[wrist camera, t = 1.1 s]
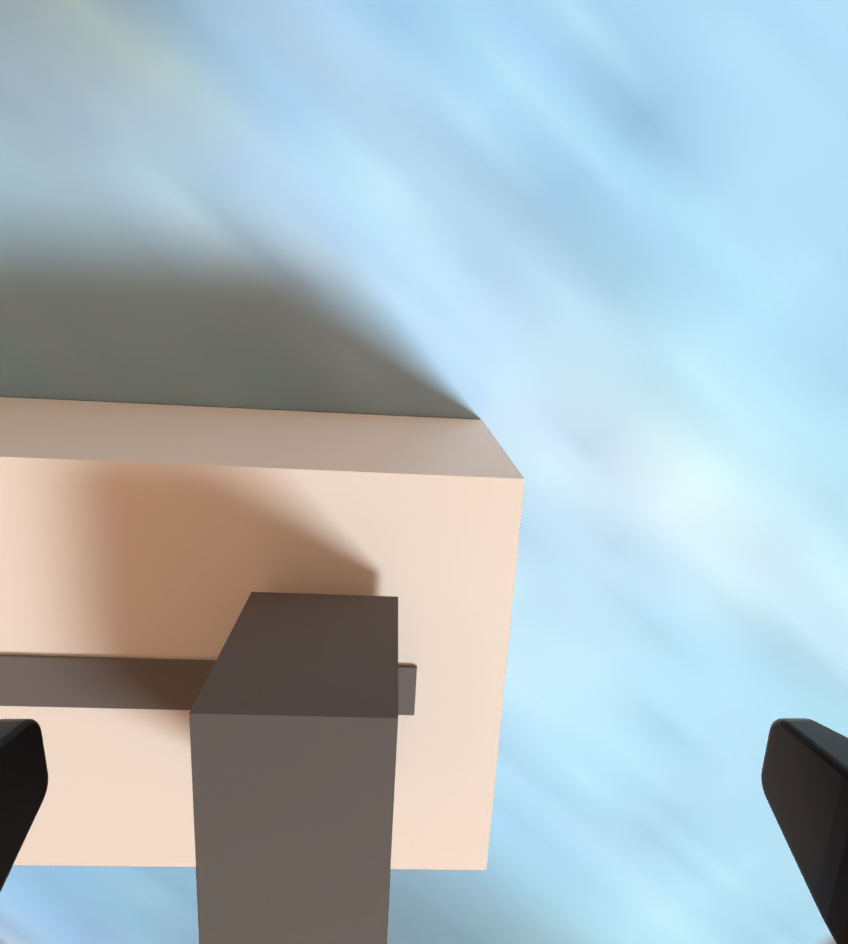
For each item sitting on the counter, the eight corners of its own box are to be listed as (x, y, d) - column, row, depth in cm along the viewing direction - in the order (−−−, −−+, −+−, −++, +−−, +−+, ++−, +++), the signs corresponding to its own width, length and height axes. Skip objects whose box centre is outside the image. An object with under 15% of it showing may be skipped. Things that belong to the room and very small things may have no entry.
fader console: (459, 699, 22) (486, 873, 16) (-194, 683, 21) (-476, 863, 14) (481, 419, 20) (525, 480, 13) (-258, 384, 19) (-638, 430, 12)
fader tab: (388, 790, 15) (384, 980, 11) (256, 788, 14) (201, 979, 10) (398, 591, 13) (397, 718, 9) (254, 586, 13) (188, 713, 9)
